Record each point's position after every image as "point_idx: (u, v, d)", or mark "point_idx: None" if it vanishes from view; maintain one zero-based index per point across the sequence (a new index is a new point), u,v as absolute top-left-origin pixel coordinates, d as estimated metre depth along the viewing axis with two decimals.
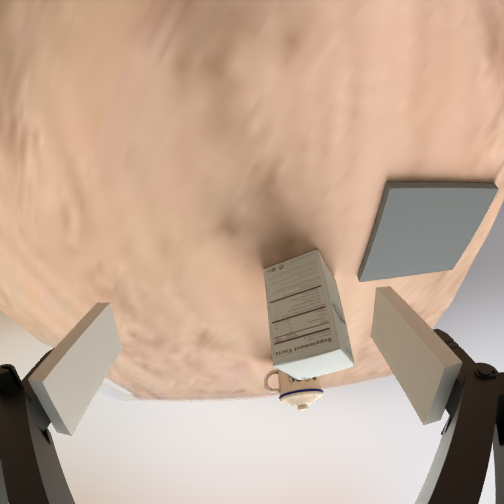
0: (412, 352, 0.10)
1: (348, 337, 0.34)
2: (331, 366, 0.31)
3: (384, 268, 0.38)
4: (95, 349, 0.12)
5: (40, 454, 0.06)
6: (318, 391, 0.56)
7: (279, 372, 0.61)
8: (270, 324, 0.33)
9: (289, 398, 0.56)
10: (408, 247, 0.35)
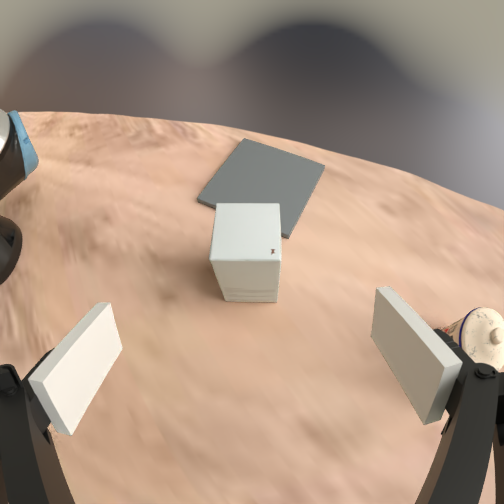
0: (412, 352, 0.10)
1: None
2: (254, 218, 0.33)
3: (281, 213, 0.47)
4: (95, 349, 0.12)
5: (40, 454, 0.06)
6: (474, 310, 0.31)
7: None
8: (216, 277, 0.36)
9: (471, 353, 0.28)
10: (264, 194, 0.49)
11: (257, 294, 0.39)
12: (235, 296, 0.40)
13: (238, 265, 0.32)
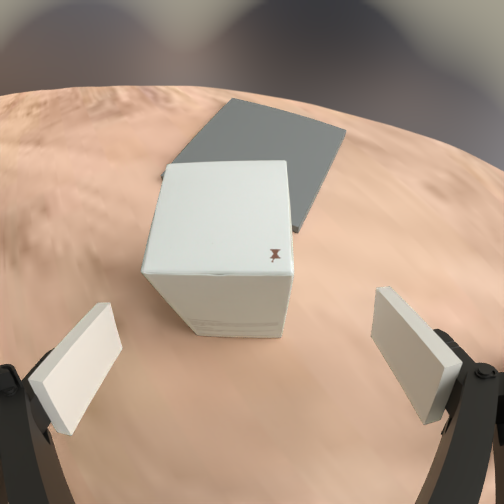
0: (412, 352, 0.10)
1: None
2: (236, 187, 0.16)
3: None
4: (95, 349, 0.12)
5: (40, 454, 0.06)
6: None
7: None
8: None
9: None
10: None
11: (247, 328, 0.22)
12: (210, 330, 0.23)
13: (202, 285, 0.15)
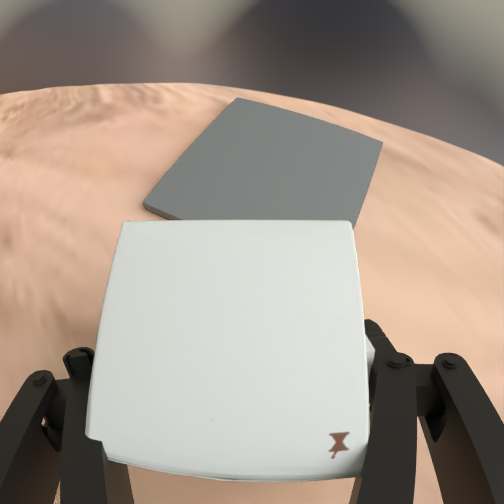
0: None
1: None
2: (257, 287, 0.08)
3: None
4: None
5: None
6: None
7: None
8: None
9: None
10: (277, 192, 0.24)
11: None
12: None
13: None
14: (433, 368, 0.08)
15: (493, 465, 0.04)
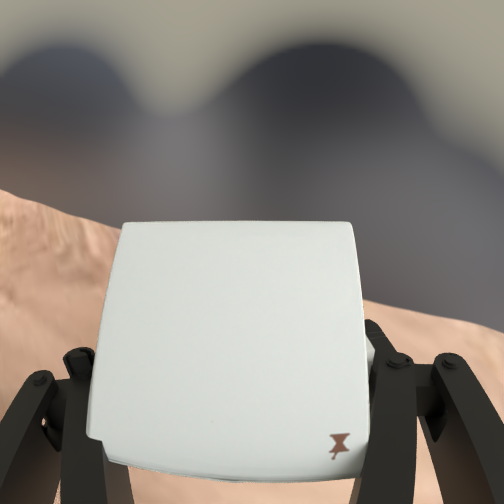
0: None
1: None
2: (257, 288, 0.08)
3: None
4: None
5: None
6: None
7: None
8: None
9: None
10: None
11: None
12: None
13: None
14: (433, 368, 0.08)
15: (493, 465, 0.04)
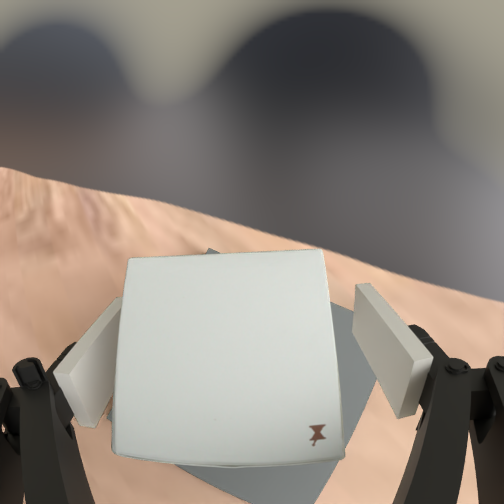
0: (386, 347, 0.11)
1: None
2: (244, 311, 0.10)
3: (290, 476, 0.17)
4: (116, 342, 0.13)
5: (62, 450, 0.06)
6: None
7: None
8: None
9: None
10: None
11: None
12: None
13: None
14: (486, 370, 0.07)
15: None
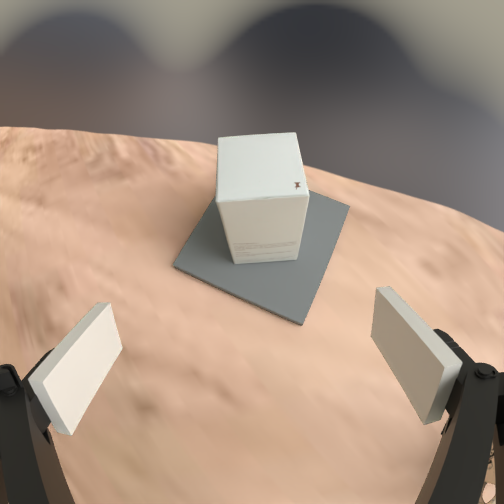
0: (412, 352, 0.10)
1: None
2: (267, 149, 0.25)
3: (292, 289, 0.33)
4: (95, 349, 0.12)
5: (40, 454, 0.06)
6: None
7: None
8: (224, 229, 0.28)
9: None
10: None
11: (274, 249, 0.32)
12: (246, 255, 0.33)
13: (254, 207, 0.25)
14: None
15: None
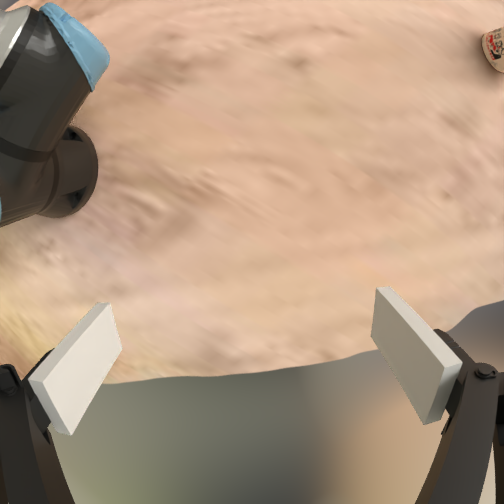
0: (412, 352, 0.10)
1: None
2: None
3: None
4: (95, 349, 0.12)
5: (40, 454, 0.06)
6: None
7: None
8: None
9: None
10: None
11: None
12: None
13: None
14: None
15: None
